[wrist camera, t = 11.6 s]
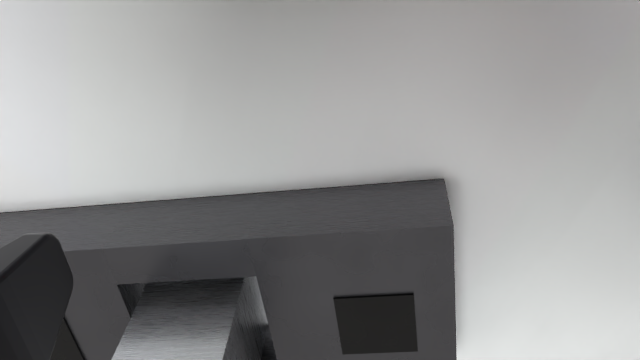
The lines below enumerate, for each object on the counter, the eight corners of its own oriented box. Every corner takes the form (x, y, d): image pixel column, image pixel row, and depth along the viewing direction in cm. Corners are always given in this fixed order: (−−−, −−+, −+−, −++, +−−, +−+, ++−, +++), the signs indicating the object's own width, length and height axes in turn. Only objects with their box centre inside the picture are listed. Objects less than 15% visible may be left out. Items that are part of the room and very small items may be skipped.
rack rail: (444, 178, 23) (453, 226, 20) (449, 343, 28) (457, 400, 25) (-32, 215, 26) (-77, 262, 23) (46, 360, 30) (16, 413, 28)
